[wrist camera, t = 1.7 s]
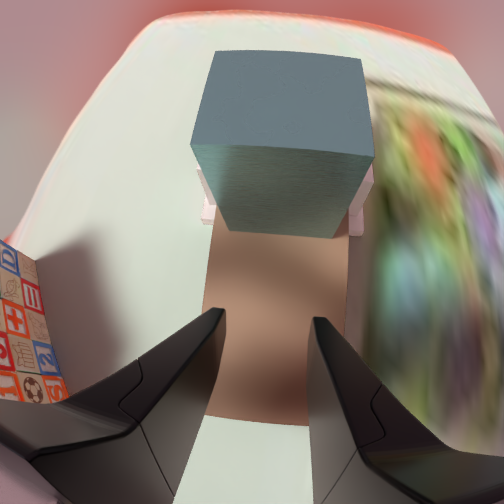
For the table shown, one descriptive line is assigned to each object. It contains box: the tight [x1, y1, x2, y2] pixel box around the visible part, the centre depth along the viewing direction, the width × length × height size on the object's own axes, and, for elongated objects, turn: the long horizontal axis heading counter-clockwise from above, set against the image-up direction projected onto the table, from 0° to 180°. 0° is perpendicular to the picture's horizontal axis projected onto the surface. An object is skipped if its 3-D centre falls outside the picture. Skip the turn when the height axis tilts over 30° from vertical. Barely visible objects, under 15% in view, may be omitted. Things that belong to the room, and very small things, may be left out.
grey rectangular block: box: [190, 50, 375, 239], centre depth 14 cm, size 5×6×9 cm
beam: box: [202, 205, 349, 426], centre depth 21 cm, size 25×9×5 cm, turn 174°
